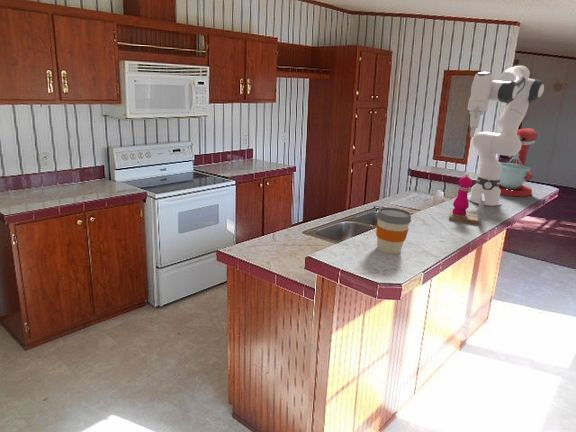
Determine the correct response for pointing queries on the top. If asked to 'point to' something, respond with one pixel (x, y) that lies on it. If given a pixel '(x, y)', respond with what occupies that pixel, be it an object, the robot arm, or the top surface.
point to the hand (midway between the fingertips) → (471, 135)
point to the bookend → (469, 214)
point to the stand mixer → (518, 167)
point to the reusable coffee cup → (392, 229)
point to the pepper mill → (462, 196)
